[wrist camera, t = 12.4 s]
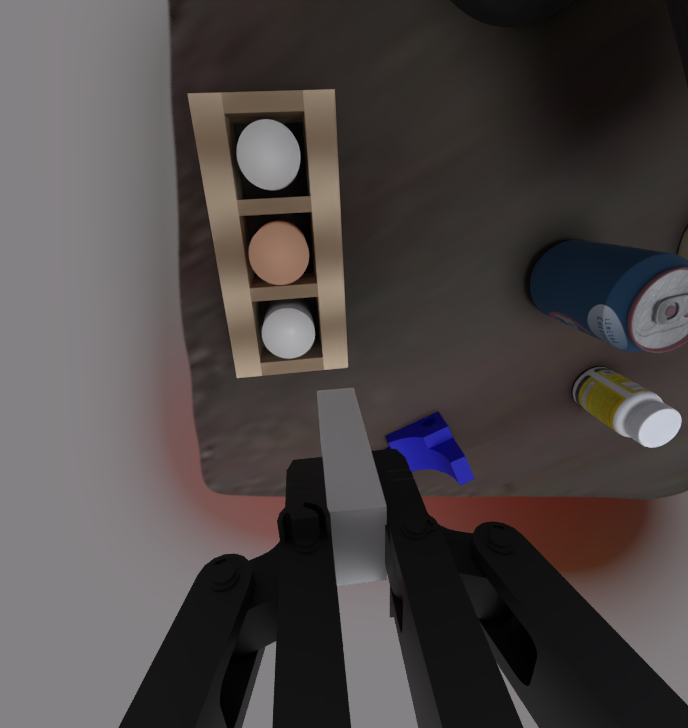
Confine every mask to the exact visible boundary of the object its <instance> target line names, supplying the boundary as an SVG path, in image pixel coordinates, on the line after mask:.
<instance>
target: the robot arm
mask: <svg viewBox="0 0 688 728" xmlns="http://www.w3.org/2000/svg"><path fill="white" fill-rule="evenodd" d="M451 1H452V2H453V3H454V4H455V5H456V6H457V7H458V8H460V9H461V10H462V11H463V12H465V13H466V14H468V15H469V16H471V17H473V18H474V19H477V20H479V21H481V22H484V23H486V24H490V25H494V26H500V27H520V26H526V25H530V24H533V23H536V22H539V21H541V20H544V19H546V18H548V17H550V16H552V15H553V14H555V13H557V12H558V11H560V10H561V9H563V8H564V7H566V6H567V5H568V4H570V3H571V2H573V1H574V0H451ZM666 2H667V6H668V10H669V14H670V18H671V22H672V25H673V29H674V33H675V37H676V41H677V45H678V49H679V53H680V57H681V61H682V65H683V69H684V73H685V77H686V82H687V86H688V0H666ZM317 400H318V412H319V425H320V437H321V449H322V457H318V458H308V459H298V460H293V461H292V463H291V465H290V466H289V468H288V469H287V477H286V502H285V508H284V509H283V510H282V511H281V512H280V514H279V517H278V520H277V524H278V530H279V537H280V542H279V543H278V544H277V545H276V546H275V547H274V548H273V549H272V550H270V551H269V552H267V553H265V554H263V555H261V556H259V557H256V558H254V559H252V560H249V561H248V560H247V559H246V558H245V557H244V556H241V555H238V554H225V555H222V556H219V557H217V558H214V559H213V560H211V561H210V562H209V563H207V564H206V565H205V566H204V567H203V569H202V570H201V571H200V573H199V574H198V575H197V577H196V579H195V582H194V583H193V585H192V587H191V589H190V591H189V593H188V595H187V597H186V599H185V601H184V603H183V605H182V606H181V608H180V610H179V612H178V614H177V616H176V618H175V620H174V622H173V624H172V626H171V628H170V630H169V632H168V633H167V635H166V637H165V639H164V641H163V643H162V645H161V647H160V649H159V651H158V653H157V654H156V656H155V658H154V660H153V662H152V665H151V666H150V668H149V670H148V672H147V674H146V676H145V678H144V680H143V681H142V683H141V685H140V687H139V689H138V691H137V693H136V695H135V697H134V699H133V701H132V703H131V705H130V707H129V708H128V711H127V712H126V714H125V716H124V718H123V720H122V722H121V724H120V726H119V728H242V725H243V722H244V718H245V715H246V711H247V708H248V705H249V701H250V698H251V694H252V691H253V688H254V684H255V681H256V677H257V674H258V670H259V667H260V663H261V660H262V657H263V653H264V650H265V646H267V645H269V644H271V643H273V642H275V641H276V663H275V684H274V685H275V686H274V706H273V728H351V722H350V712H349V704H348V703H349V702H348V692H347V682H346V673H345V663H344V653H343V643H342V633H341V623H340V613H339V603H338V593H337V586H341V585H350V584H357V583H365V582H373V581H381V580H386V573H387V574H388V578H389V582H390V617H394V619H395V624H396V628H397V633H398V637H399V642H400V646H401V650H402V655H403V660H404V664H405V669H406V674H407V678H408V682H409V687H410V692H411V696H412V701H413V705H414V710H415V714H416V719H417V723H418V728H523V726H522V724H521V721H520V718H519V716H518V714H517V711H516V709H515V706H514V704H513V701H512V699H511V697H510V694H509V692H508V689H507V687H506V685H505V682H504V680H503V677H502V675H501V673H500V671H499V668H498V665H499V667H500V669H501V670H502V672H503V673H504V675H505V676H506V677H507V679H508V681H509V682H510V684H511V685H512V687H513V688H514V690H515V692H516V693H517V695H518V696H519V698H520V699H521V701H522V702H523V704H524V705H525V707H526V708H527V710H528V711H529V713H530V714H531V716H532V718H533V719H534V721H535V722H536V724H537V725H538V727H539V728H688V705H687V704H686V703H685V702H684V701H683V700H682V699H681V698H680V697H679V696H678V695H677V694H676V693H675V692H674V691H673V690H672V689H671V688H670V687H669V686H668V685H667V684H666V682H665V681H664V680H663V679H662V678H661V677H660V676H659V675H658V674H657V673H656V672H655V671H654V670H653V669H652V668H651V667H650V666H649V665H648V664H647V663H646V662H645V661H644V660H643V659H642V658H641V657H640V656H639V655H638V654H637V653H636V652H635V651H634V649H632V647H630V645H629V644H628V643H627V642H626V641H625V640H624V639H623V638H622V637H621V636H620V635H619V634H618V633H617V632H616V631H615V630H614V629H613V628H612V627H611V626H610V625H609V624H608V623H607V622H606V621H605V620H604V619H603V618H602V617H601V615H600V614H599V613H598V612H597V611H596V610H595V609H594V608H593V607H592V606H591V605H590V604H589V603H588V602H587V601H586V600H585V599H584V598H583V597H582V596H581V595H580V594H579V593H578V592H577V591H576V590H575V589H574V588H573V587H572V586H571V585H570V584H569V582H568V581H566V579H565V578H564V577H563V576H562V575H561V574H560V573H559V572H558V571H557V570H556V569H555V568H554V567H553V566H552V565H551V564H550V563H549V562H548V561H547V560H546V559H545V558H544V557H543V556H542V555H541V554H540V553H539V552H538V550H536V548H535V547H534V546H533V545H532V544H531V543H530V542H529V541H528V540H527V539H526V538H525V537H524V536H523V535H522V534H521V533H520V532H518V531H517V530H516V529H514V528H513V527H511V526H509V525H506V524H504V523H499V522H486V523H482V524H481V525H479V526H477V527H476V529H475V531H474V533H473V534H472V533H465V532H459V531H454V530H450V529H447V528H445V527H443V526H440V525H439V524H438V523H437V521H436V520H435V519H434V518H433V517H431V516H430V515H429V514H428V513H427V511H426V508H425V505H424V503H423V501H422V498H421V495H420V493H419V490H418V488H417V485H416V483H415V480H414V479H413V475H412V473H411V470H410V468H409V465H408V463H407V460H406V458H405V456H403V455H402V454H401V453H400V452H399V451H398V450H397V449H387V450H377V451H371V448H370V445H369V441H368V437H367V434H366V430H365V427H364V423H363V419H362V416H361V412H360V409H359V405H358V401H357V398H356V394H355V391H354V388H344V389H332V390H321V391H317ZM496 662H497V663H496ZM497 664H498V665H497Z"/></svg>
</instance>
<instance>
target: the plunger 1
mask: <svg viewBox="0 0 688 728" xmlns="http://www.w3.org/2000/svg"><path fill="white" fill-rule="evenodd" d="M237 160H238V164H239V167H240V169H241V171H242V173H243V174H244V176H245V177H246V178H247V179H248V180H249V181H250V182H251V183H252V184H254V185H255V186H257V187H259V188H262V189H265V190H271V191H277V190H281V189H284V188H286V187H287V186H289V185H290V184H291V183H292V182H293V181H294V179H295V177H296V175H297V173H298V170H299V166H300V149H299V145H298V143H297V140H296V138H295V136H294V135H293V134H292V132H291V131H290V130H289V129H288V128H287V127H286V126H284V125H283V124H281V123H279V122H277V121H274V120H270V119H262V120H257V121H255V122H253V123H251V124H249V125H248V126H247V127H246V128H245V129H244V130H243V132H242V133H241V135H240V137H239V140H238V143H237Z"/></svg>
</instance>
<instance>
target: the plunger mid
mask: <svg viewBox="0 0 688 728" xmlns="http://www.w3.org/2000/svg"><path fill="white" fill-rule="evenodd" d="M249 260H250V264H251V266H252V268H253V270H254V271H255V273H256V274H257V275H258V276H259V277H260V278H261V279H263V280H264V281H266V282H268V283H271V284H275V285H286V284H290V283H292V282H294V281H296V280H297V279H299V278H300V277H301V276H302V275H303V273H304V272H305V270H306V268H307V265H308V262H309V250H308V246H307V243H306V240H305V237H304V235H303V233H302V231H301V230H300V229H299V228H298V227H297V226H296V225H295V224H294V223H292V222H290V221H287V220H283V219H276V220H271V221H269V222H267V223H265V224H264V225H263V226H262V227H261V228H260V229H259V230H258V231H257V233H256V234H255V235H254V236H253V238H252V240H251V242H250V245H249Z"/></svg>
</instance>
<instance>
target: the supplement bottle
mask: <svg viewBox="0 0 688 728" xmlns="http://www.w3.org/2000/svg"><path fill="white" fill-rule="evenodd" d="M573 397H574V400H575V401H576V403H577V404H578V405H579V406H581V407H582V408H584V409H585V410H586V411H588V412H589V413H591V414H592V415H593V416H595V417H596V418H598V419H599V420H600V421H602V422H603V423H605V424H606V425H607V426H609V427H610V428H612V429H613V430H614V431H616V432H617V433H619V434H620V435H622V436H625V437H631V438H632V439H634V440H635V441H637V442H639V443H640V444H642V445H643V446H645V447H650V448H653V447H658V446H661V445H663V444H665V443H667V442H669V441H670V440H671V439H672V438H673V437H674V436H675V435H676V434H677V432H678V431H679V429H680V426H681V416H680V414H679V413H678V412H677V411H676V410H675V409H673V408H671V407H670V406H668V405H667V404H665V403H663V401H662V399H661V398H660V397H659V396H658V395H656V394H655V393H653V392H651V391H650V390H648V389H646V388H644V387H642V386H640V385H638V384H637V383H635V382H633V381H631V380H629V379H627V378H625V377H624V376H622V375H620V374H618V373H616V372H614V371H612V370H610V369H608V368H605V367H595V368H592V369H590V370H588V371H586V372H585V373H584V374H582V375H581V376H580V377H579V378H578V379H577V381H576V383H575V385H574V387H573Z"/></svg>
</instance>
